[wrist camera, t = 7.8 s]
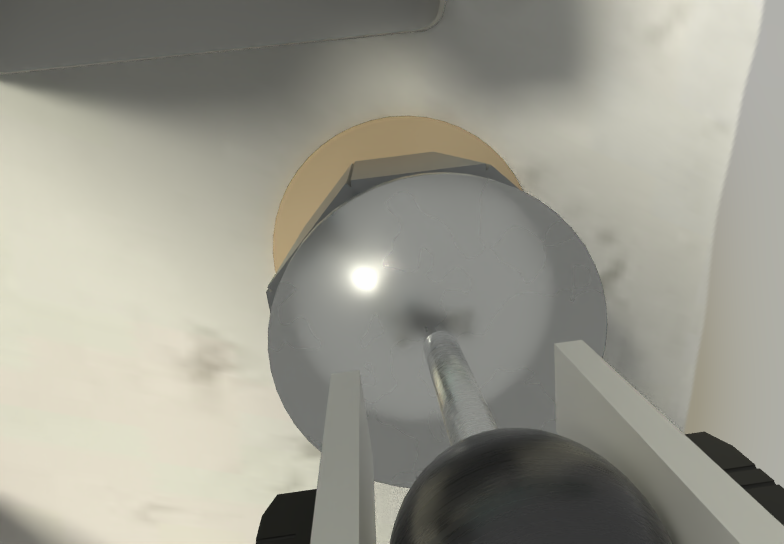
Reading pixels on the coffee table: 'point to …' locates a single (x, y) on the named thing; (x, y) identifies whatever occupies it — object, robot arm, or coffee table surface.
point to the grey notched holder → (188, 27)
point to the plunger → (456, 360)
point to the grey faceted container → (374, 172)
